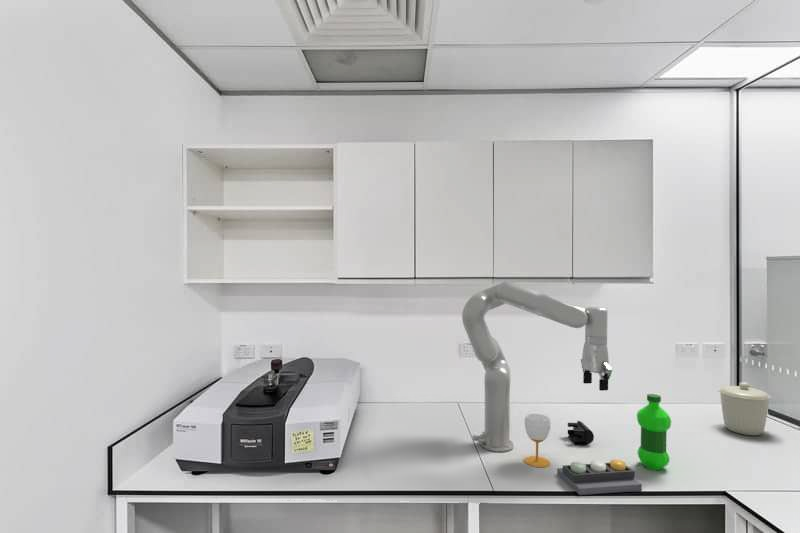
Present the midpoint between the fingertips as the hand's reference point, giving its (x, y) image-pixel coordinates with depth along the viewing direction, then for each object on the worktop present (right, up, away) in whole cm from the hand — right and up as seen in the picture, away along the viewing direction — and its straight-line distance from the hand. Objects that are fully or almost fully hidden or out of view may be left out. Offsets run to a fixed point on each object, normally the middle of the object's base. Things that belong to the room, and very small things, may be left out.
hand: (595, 386), depth 170 cm
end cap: (0, -26, +14) cm, 29 cm away
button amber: (-1, -22, -20) cm, 30 cm away
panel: (-8, -26, -21) cm, 34 cm away
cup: (-23, -26, -6) cm, 35 cm away
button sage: (-15, -22, -22) cm, 34 cm away
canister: (+75, -26, +26) cm, 84 cm away
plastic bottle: (+17, -26, -9) cm, 32 cm away
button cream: (-8, -22, -21) cm, 31 cm away
